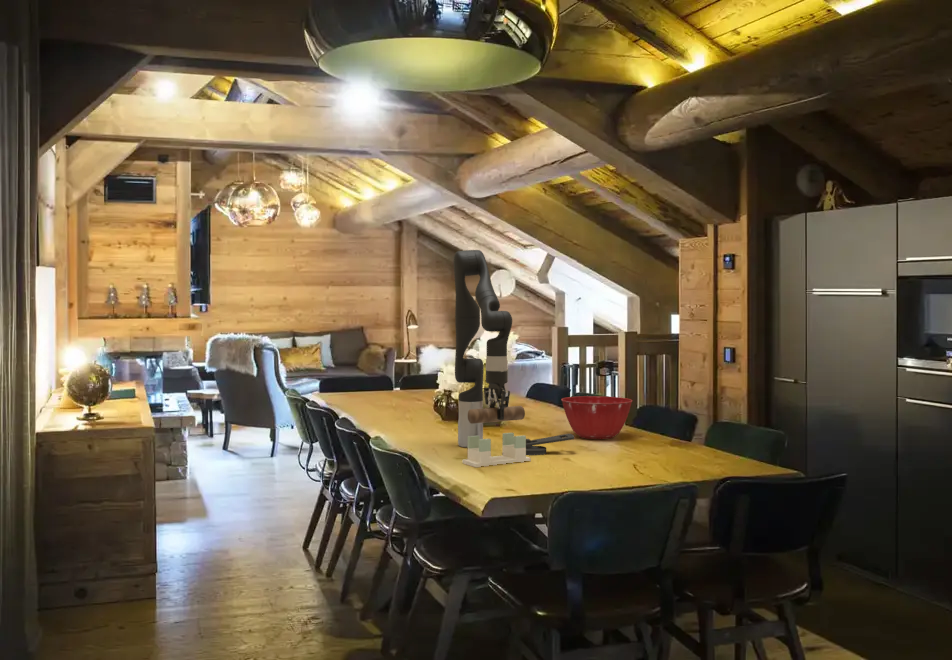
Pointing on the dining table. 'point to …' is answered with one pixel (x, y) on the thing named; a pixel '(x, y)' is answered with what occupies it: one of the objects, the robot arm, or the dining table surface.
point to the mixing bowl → (596, 415)
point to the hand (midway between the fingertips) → (496, 418)
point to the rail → (495, 414)
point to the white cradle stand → (482, 456)
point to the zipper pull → (540, 449)
